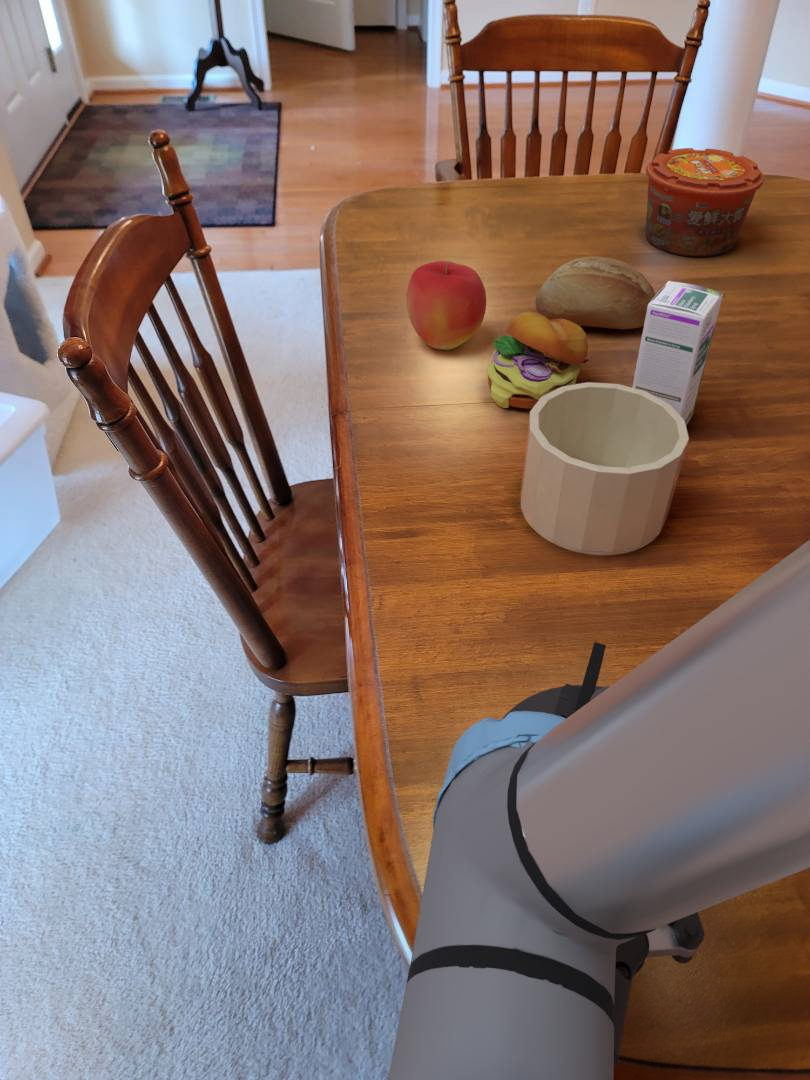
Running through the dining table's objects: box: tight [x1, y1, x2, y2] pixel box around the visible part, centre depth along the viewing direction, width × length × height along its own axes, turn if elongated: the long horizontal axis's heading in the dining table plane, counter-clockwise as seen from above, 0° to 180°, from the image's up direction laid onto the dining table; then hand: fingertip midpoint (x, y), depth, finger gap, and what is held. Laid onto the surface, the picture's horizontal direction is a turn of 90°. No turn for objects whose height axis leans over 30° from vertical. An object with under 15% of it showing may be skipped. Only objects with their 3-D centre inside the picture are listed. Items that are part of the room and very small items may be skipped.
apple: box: [405, 260, 487, 351], centre depth 98 cm, size 10×10×10 cm
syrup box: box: [631, 280, 724, 426], centre depth 85 cm, size 6×6×14 cm
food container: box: [644, 147, 765, 258], centre depth 120 cm, size 16×16×11 cm
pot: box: [519, 381, 690, 556], centre depth 76 cm, size 14×14×10 cm
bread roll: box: [535, 256, 657, 330], centre depth 103 cm, size 10×15×8 cm, turn 80°
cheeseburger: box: [486, 310, 591, 410], centre depth 92 cm, size 10×11×10 cm
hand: (625, 665), depth 54 cm, fingers closed on lid, 3 cm apart
